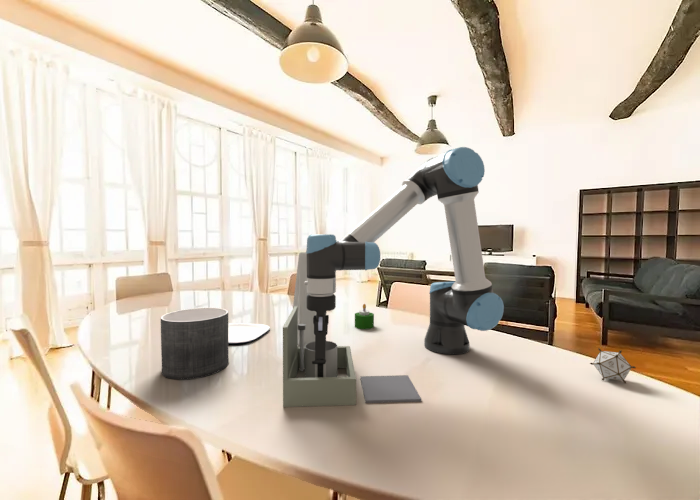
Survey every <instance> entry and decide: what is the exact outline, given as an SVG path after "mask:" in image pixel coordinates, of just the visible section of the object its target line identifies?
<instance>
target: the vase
mask: <svg viewBox="0 0 700 500" xmlns="http://www.w3.org/2000/svg"><path fill="white" fill-rule="evenodd" d="M305 281H307V257H306V251H305V252H304V251H303V252H302V251H301V252H299V254H298V260H297V269H296V278H295V287H294V292H293V293H294V295H293V301H292V302H293V303H292V309H293V308H294V306H298V324H306V328H305V330H304V347H305V345H306V344H307V343H310V342H314V341H315V334H314V324H313V318H314V315H316V311H310V310H308V309H307V295H308V294H309V293H307V286H308V285H305V284H304V282H305ZM298 347H300V330H298Z"/></svg>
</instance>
